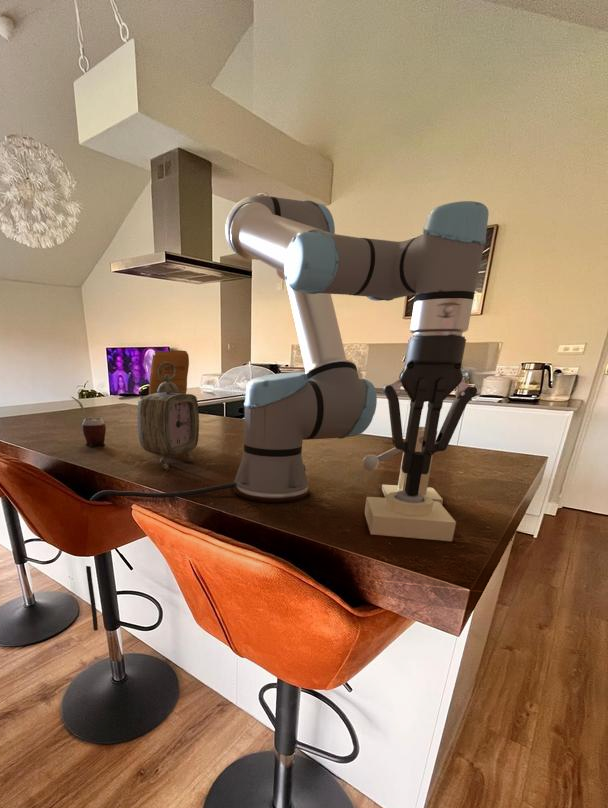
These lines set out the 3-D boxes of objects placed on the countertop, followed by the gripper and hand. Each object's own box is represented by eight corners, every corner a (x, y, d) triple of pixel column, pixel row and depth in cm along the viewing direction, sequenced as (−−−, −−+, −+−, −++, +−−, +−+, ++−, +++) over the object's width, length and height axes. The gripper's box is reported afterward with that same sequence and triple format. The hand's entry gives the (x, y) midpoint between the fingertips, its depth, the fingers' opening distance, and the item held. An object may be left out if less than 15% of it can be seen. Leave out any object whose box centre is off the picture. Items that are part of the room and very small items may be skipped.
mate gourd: (111, 443, 134) (106, 395, 129) (98, 448, 127) (93, 397, 122) (89, 442, 136) (85, 394, 131) (76, 447, 129) (70, 396, 123)
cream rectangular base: (370, 534, 67) (374, 504, 65) (364, 513, 76) (367, 486, 74) (452, 541, 64) (458, 511, 63) (435, 518, 74) (441, 491, 72)
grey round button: (397, 507, 67) (399, 496, 67) (393, 499, 71) (395, 489, 71) (424, 509, 67) (426, 498, 66) (418, 501, 70) (420, 491, 70)
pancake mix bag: (197, 443, 135) (196, 350, 126) (158, 454, 120) (153, 349, 110) (180, 441, 139) (178, 350, 129) (140, 451, 124) (134, 349, 114)
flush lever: (367, 475, 84) (360, 461, 83) (366, 471, 87) (359, 457, 86) (433, 443, 79) (426, 428, 79) (429, 440, 82) (422, 425, 82)
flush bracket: (387, 501, 82) (397, 430, 78) (381, 489, 90) (391, 424, 85) (442, 505, 80) (456, 433, 76) (431, 493, 88) (444, 426, 83)
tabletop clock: (166, 473, 101) (162, 362, 92) (137, 468, 105) (130, 362, 96) (199, 461, 113) (198, 362, 104) (172, 457, 117) (168, 361, 108)
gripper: (393, 333, 58) (371, 496, 66) (497, 333, 55) (461, 503, 63) (385, 336, 65) (366, 484, 73) (478, 336, 62) (448, 489, 70)
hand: (411, 492), depth 68 cm, fingers closed
